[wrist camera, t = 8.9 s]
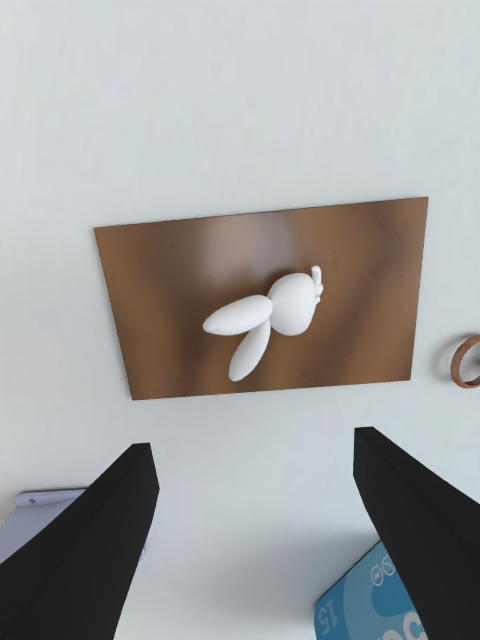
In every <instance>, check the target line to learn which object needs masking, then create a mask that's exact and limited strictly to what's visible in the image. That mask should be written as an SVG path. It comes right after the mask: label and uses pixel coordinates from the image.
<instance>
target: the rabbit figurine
mask: <svg viewBox="0 0 480 640" xmlns="http://www.w3.org/2000/svg"><path fill="white" fill-rule="evenodd" d="M311 270H312V278H311V277H310V276H309V275H307V274H304V273H294V274H289V275H286V276H284V277H282V278H280V279H279V280H277V281H276V282H275V283H274V284H273V285H272V287H271V289H270V291H269V293H268V295H267V297H265V296H262V295H253V296H249V297H246V298H243V299H241V300H238V301H235V302H233V303H231V304H229V305H227V306H224V307H222V308H220V309H219V310H217V311H215V312H214V313H213V314H211V315H210V317H208V318H207V319H206V321H205V322H204V324H203V329H204V330H205V331H206V332H208V333H212V334H218V335H236V334H240V333H243V332H246V331H249V330H250V331H249V333H248V334H247V335H246V337H245V338H244V340H243V341H242V342H241V344H240V345H239V347H238V349H237V350H236V352H235V353H234V355H233V357H232V360H231V363H230V367H229V378H230V379H231V380H232V381H234V382H235V381H238V380H241V379H243V378H244V377H245V376H247V375H248V374H249V373H250V372H251V371H252V370H253V369H254V367H255V366H256V365H257V364H258V362H259V361H260V359H261V357H262V355H263V353H264V351H265V349H266V346H267V343H268V340H269V336H270V329H271V326H272V328H274V329H275V330H276V331H277V332H279V333H281V334H284V335H289V336H293V335H298V334H300V333H302V332H304V331H305V330H306V329H307V328H308V326H309V324H310V322H311V320H312V317H313V314H314V311H315V307H316V304H318V302H319V301H320V297H319V296H320V295H321V293H322V291H323V285H322V283H321V270H320V268H319V267H318V266H316V265H315V266H313V267H312V268H311Z"/></svg>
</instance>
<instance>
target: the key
mask: <svg viewBox="0 0 480 640" xmlns="http://www.w3.org/2000/svg"><path fill="white" fill-rule="evenodd" d="M478 342H480V335H478V336H474V337H471V338H469V339H468V340H466V341H465V342H464V343H463V344H461V346H460V347H459V348H458V349H457V351H456V352H455V354H454V356H453V358H452V362H451V376H452V379H453V380H454V382H455V383H456V384H457V385H458V386H460V387H462V388H476V387H478V386H480V376H479V377H477V378H476V379H474V380H472V381H468V382H463V381H462V380H461V378H460V375H459V367H460V363H461V360H462V358H463V356H464V355H465V353H466V352H467V350H469V349H470V348H471V347H472V346H473V345H474V344H476V343H478Z"/></svg>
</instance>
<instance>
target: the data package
mask: <svg viewBox="0 0 480 640" xmlns="http://www.w3.org/2000/svg"><path fill="white" fill-rule="evenodd" d="M314 626H315V633H316V638H317V640H428V638H427V635H426V633H425V631H424V628H423V626H422V623H421V621H420V619H419V616H418V614H417V612H416V610H415V608H414V605H413V603H412V601H411V599H410V597H409V595H408V592H407V590H406V588H405V586H404V585H403V583H402V581H401V579H400V577H399V575H398V573H397V571H396V569H395V567H394V565H393V563H392V561H391V559H390V557H389V555H388V553H387V551H386V549H385V547H384V545H383V543H382V541H381V542H380V543H378V544H377V545H376V546H375V547H374V548H373V549H372V550H371V551H370V552H369V553H368V554H367V555H366V556H365V557H364V558H363V559H362V560H361V561H360V562H359V563H357V564H356V565H355V566H354V567H353V568H352V569H351V570H350V571H349V572H348V573H347V574H346V575H345V576H344V577H343V578H342V579H341V580H340V581H339V582H338V583H337V584H336V585H335V586H333V587H332V588H331V589H330V590H329V591H328V592H327V593H326V594H325V595H324V596H323V597H322V598H321V599H320V600H319V602H318V604H317V606H316V610H315V616H314Z"/></svg>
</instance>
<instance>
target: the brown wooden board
mask: <svg viewBox="0 0 480 640" xmlns="http://www.w3.org/2000/svg"><path fill="white" fill-rule="evenodd" d="M428 198H429V197H419V198H409V199H398V200H387V201H376V202H366V203H355V204H344V205H334V206H323V207H312V208H301V209H291V210H280V211H269V212H259V213H248V214H237V215H226V216H216V217H205V218H194V219H184V220H173V221H162V222H151V223H141V224H130V225H119V226H109V227H98V228H94V231H95V236H96V240H97V245H98V249H99V254H100V258H101V262H102V267H103V271H104V276H105V280H106V285H107V289H108V294H109V298H110V302H111V307H112V311H113V316H114V320H115V325H116V329H117V334H118V338H119V342H120V347H121V351H122V356H123V360H124V365H125V369H126V374H127V378H128V382H129V387H130V391H131V396H132V400H146V399H159V398H173V397H187V396H201V395H214V394H228V393H242V392H256V391H270V390H283V389H297V388H311V387H325V386H339V385H352V384H366V383H380V382H394V381H407V380H410V378H411V368H412V358H413V348H414V338H415V328H416V318H417V308H418V298H419V288H420V278H421V268H422V258H423V248H424V238H425V228H426V218H427V208H428ZM315 265H316V266H318V267H319V268H320V270H321V283H322V285H323V291H322V293H321V295H320V296H319V297H320V301H319V302H318V304H316V307H315V311H314V314H313V317H312V320H311V322H310V324H309V326H308V328H307V329H306V330H305V331H304V332H302V333H300V334H298V335H293V336H289V335H284V334H281V333H279V332H277V331H276V330H275V329H274V328H272V326H271V329H270V336H269V340H268V343H267V346H266V349H265V351H264V353H263V355H262V357H261V359H260V361H259V362H258V364H257V365H256V366H255V367H254V369H253V370H252V371H251V372H250V373H249V374H248V375H247V376H245V377H244V378H243V379H241V380H238V381H235V382H234V381H232V380H231V379H230V378H229V367H230V363H231V360H232V357H233V355H234V353H235V352H236V350H237V349H238V347H239V345H240V344H241V342H242V341H243V340H244V338H245V337H246V335H247V334H248V333H249V331H250V330H249V331H246V332H243V333H240V334H236V335H218V334H212V333H208V332H206V331H205V330H204V329H203V324H204V322H205V321H206V319H207V318H208V317H210V315H211V314H213V313H214V312H215V311H217V310H219V309H220V308H222V307H224V306H227V305H229V304H231V303H233V302H235V301H238V300H241V299H243V298H246V297H249V296H253V295H262V296H265V297H267V295H268V293H269V291H270V289H271V287H272V285H273V284H274V283H275V282H276V281H277V280H279V279H280V278H282V277H284V276H286V275H289V274H294V273H304V274H307V275H309V276H310V277H311V278H312V270H311V268H312V267H313V266H315Z"/></svg>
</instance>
